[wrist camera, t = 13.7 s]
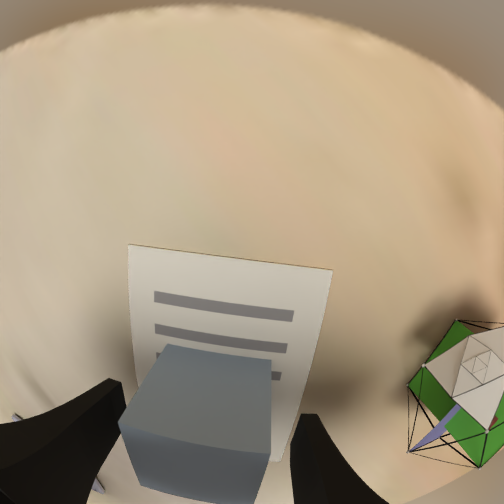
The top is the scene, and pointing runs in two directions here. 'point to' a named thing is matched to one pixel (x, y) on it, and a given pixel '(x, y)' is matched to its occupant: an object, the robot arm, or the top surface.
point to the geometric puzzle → (464, 391)
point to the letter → (230, 317)
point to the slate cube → (201, 425)
